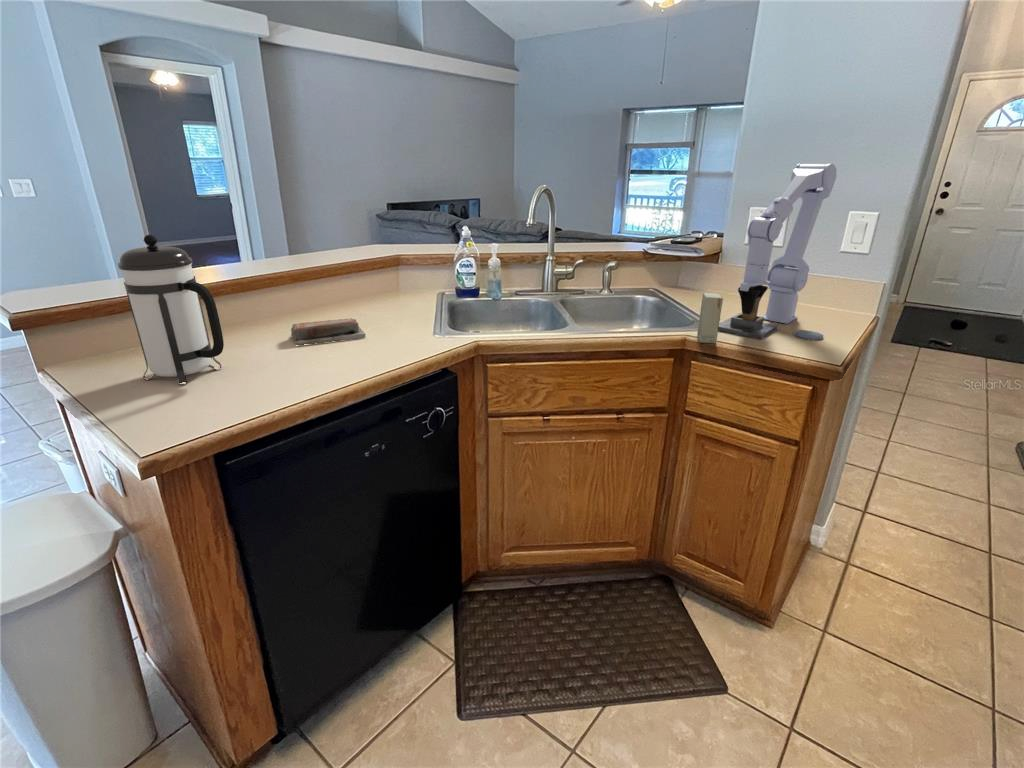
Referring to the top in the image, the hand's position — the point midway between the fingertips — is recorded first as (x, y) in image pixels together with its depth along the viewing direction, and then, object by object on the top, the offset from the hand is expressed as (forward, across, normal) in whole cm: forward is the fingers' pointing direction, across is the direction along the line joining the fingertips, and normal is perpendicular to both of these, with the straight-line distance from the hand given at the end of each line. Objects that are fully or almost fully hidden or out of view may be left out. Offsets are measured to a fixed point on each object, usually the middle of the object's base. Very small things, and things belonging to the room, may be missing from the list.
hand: (748, 312), depth 149 cm
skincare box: (+5, -17, +4) cm, 18 cm away
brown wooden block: (+3, 0, 0) cm, 3 cm away
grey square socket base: (+5, 0, 0) cm, 5 cm away
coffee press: (+6, -121, +76) cm, 143 cm away
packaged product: (+6, -86, +79) cm, 117 cm away
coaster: (+5, +6, -15) cm, 17 cm away
